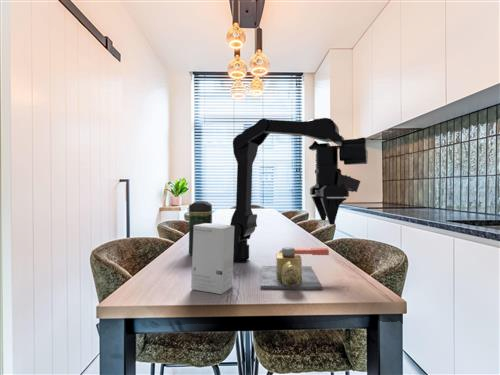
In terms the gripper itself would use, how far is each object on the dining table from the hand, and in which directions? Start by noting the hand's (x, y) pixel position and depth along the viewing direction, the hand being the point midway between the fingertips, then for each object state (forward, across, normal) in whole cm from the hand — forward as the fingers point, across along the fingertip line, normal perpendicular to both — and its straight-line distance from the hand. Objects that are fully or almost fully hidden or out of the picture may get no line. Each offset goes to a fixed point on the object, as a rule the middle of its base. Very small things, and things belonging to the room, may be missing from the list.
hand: (327, 222), depth 78 cm
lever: (+8, -6, +7) cm, 12 cm away
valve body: (+14, -5, +11) cm, 19 cm away
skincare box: (+14, -13, +30) cm, 35 cm away
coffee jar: (+14, +22, +40) cm, 47 cm away
